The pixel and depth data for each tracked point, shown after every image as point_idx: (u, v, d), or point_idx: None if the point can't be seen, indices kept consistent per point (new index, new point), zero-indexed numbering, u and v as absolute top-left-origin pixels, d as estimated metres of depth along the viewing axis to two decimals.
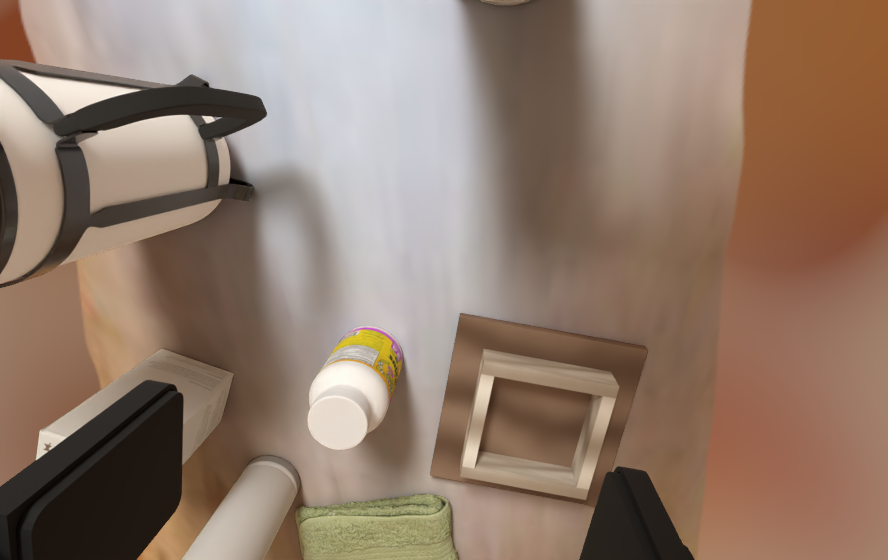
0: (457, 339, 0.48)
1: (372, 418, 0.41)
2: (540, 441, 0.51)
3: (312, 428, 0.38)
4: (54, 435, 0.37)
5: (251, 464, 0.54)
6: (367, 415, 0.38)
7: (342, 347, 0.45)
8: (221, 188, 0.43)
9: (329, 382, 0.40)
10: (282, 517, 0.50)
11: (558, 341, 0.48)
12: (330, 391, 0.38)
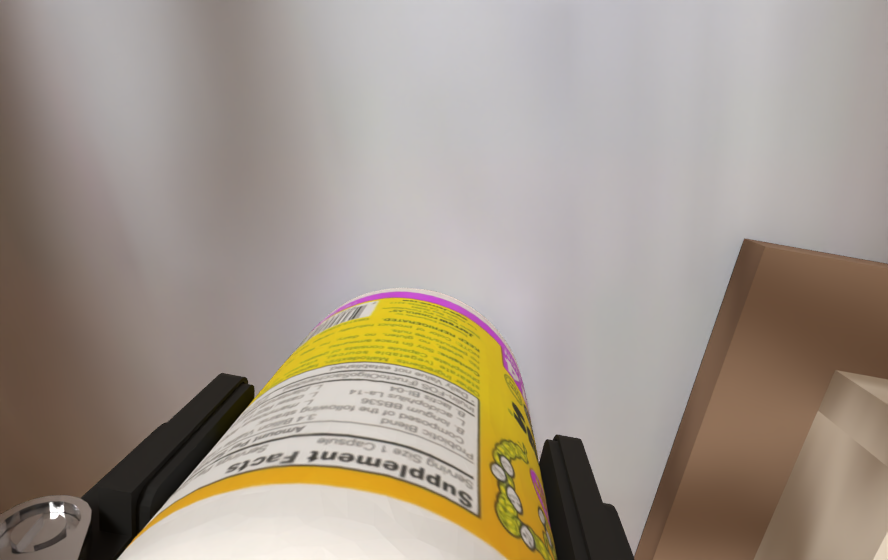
0: (740, 335, 0.13)
1: None
2: None
3: None
4: None
5: None
6: None
7: (297, 373, 0.09)
8: None
9: None
10: None
11: None
12: None
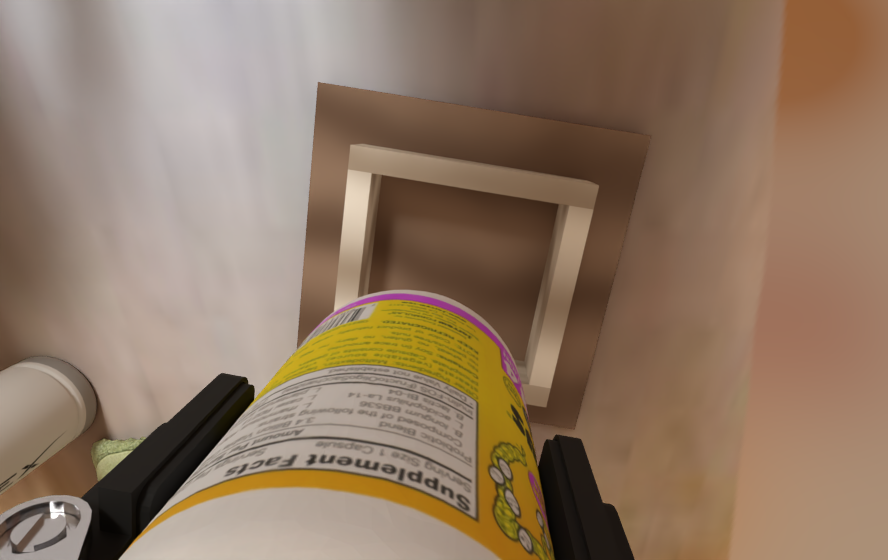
0: (317, 127, 0.28)
1: None
2: None
3: None
4: None
5: (7, 368, 0.33)
6: None
7: (296, 376, 0.09)
8: None
9: None
10: (32, 446, 0.29)
11: (492, 124, 0.27)
12: None
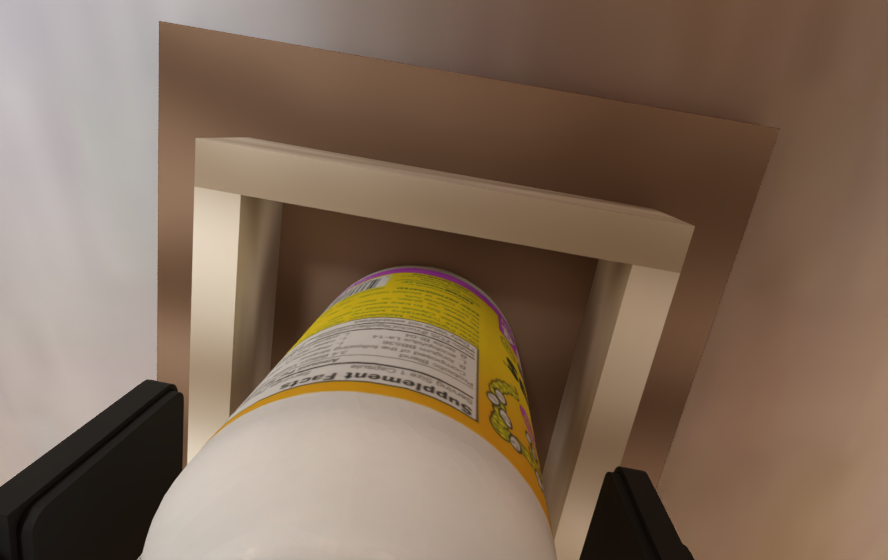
0: (164, 106, 0.15)
1: None
2: None
3: None
4: None
5: None
6: None
7: (327, 327, 0.11)
8: None
9: (231, 532, 0.06)
10: None
11: (482, 103, 0.15)
12: None
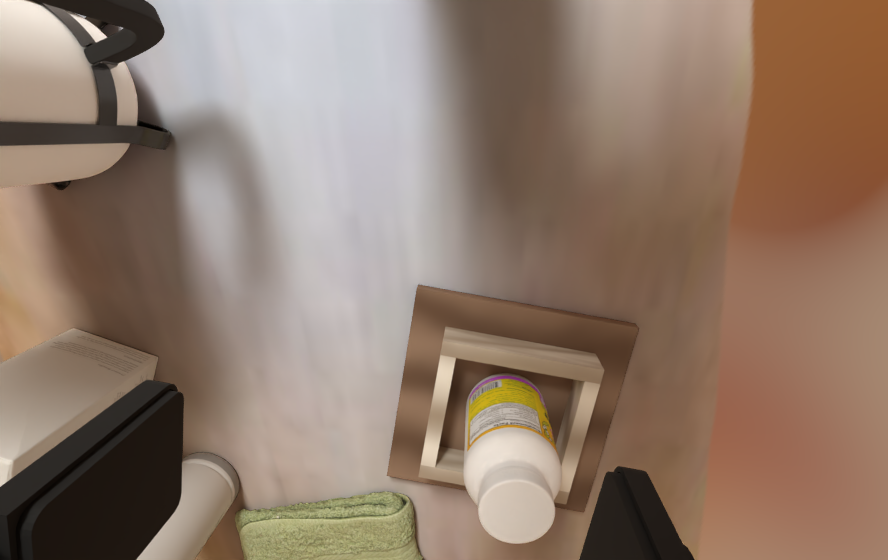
0: (414, 315, 0.41)
1: None
2: None
3: (483, 518, 0.31)
4: None
5: None
6: (553, 503, 0.31)
7: (491, 405, 0.37)
8: (123, 130, 0.35)
9: (496, 456, 0.32)
10: (211, 524, 0.43)
11: (533, 317, 0.41)
12: (506, 472, 0.31)
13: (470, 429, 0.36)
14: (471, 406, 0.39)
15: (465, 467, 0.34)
